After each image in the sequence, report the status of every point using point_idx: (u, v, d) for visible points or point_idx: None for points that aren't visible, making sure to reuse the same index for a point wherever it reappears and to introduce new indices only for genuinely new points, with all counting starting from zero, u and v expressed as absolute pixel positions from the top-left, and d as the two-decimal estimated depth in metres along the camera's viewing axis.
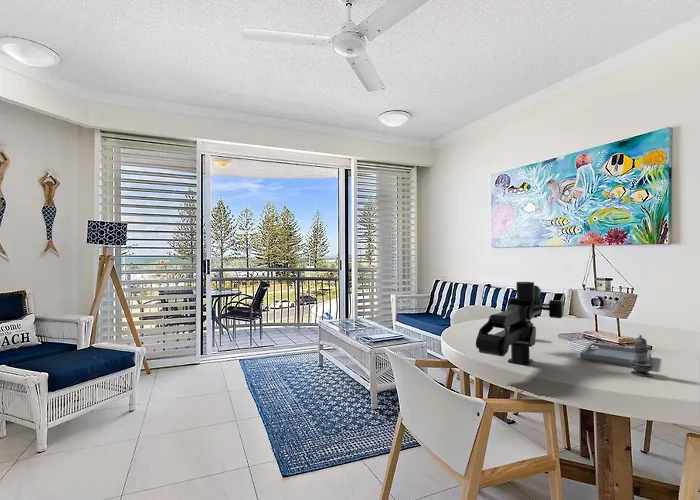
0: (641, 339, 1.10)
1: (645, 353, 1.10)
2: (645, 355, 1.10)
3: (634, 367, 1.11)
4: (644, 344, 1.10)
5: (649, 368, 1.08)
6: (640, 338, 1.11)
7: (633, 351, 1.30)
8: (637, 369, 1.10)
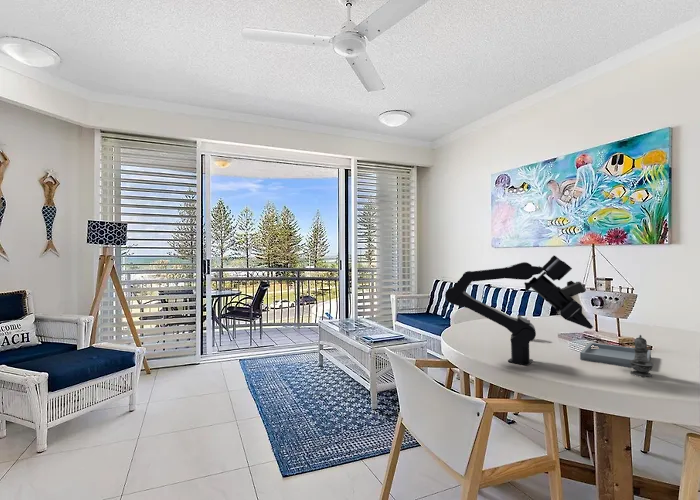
0: (641, 339, 1.10)
1: (645, 353, 1.10)
2: (645, 355, 1.10)
3: (634, 367, 1.11)
4: (644, 344, 1.10)
5: (649, 368, 1.08)
6: (640, 338, 1.11)
7: (633, 351, 1.30)
8: (637, 369, 1.10)
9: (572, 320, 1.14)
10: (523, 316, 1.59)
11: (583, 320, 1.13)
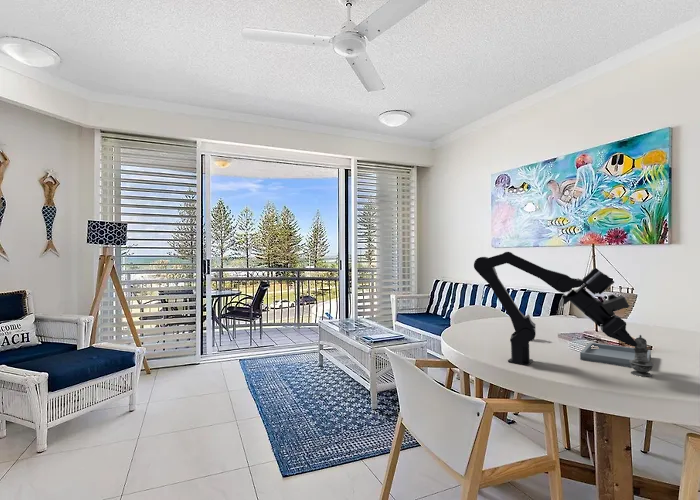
0: (641, 339, 1.10)
1: (645, 353, 1.10)
2: (645, 355, 1.10)
3: (634, 367, 1.11)
4: (644, 344, 1.10)
5: (649, 368, 1.08)
6: (640, 338, 1.11)
7: (633, 351, 1.30)
8: (637, 369, 1.10)
9: (615, 337, 1.09)
10: None
11: (627, 337, 1.08)
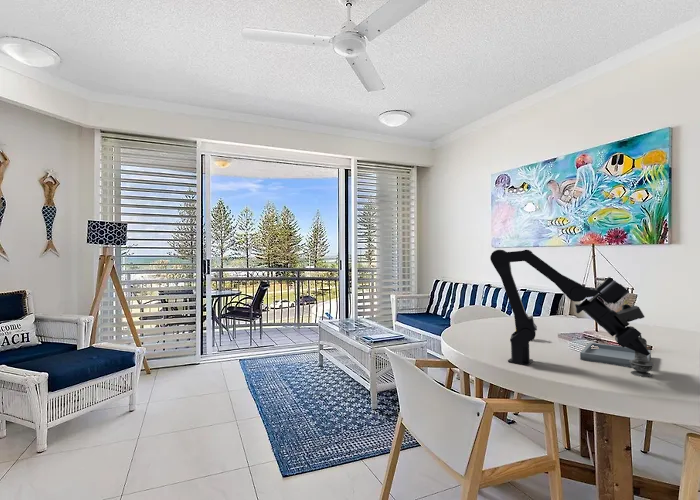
0: (641, 339, 1.10)
1: None
2: (645, 355, 1.10)
3: (634, 367, 1.11)
4: (644, 344, 1.10)
5: (649, 368, 1.08)
6: (640, 338, 1.11)
7: (633, 351, 1.30)
8: (637, 369, 1.10)
9: (627, 346, 1.09)
10: None
11: (640, 346, 1.09)
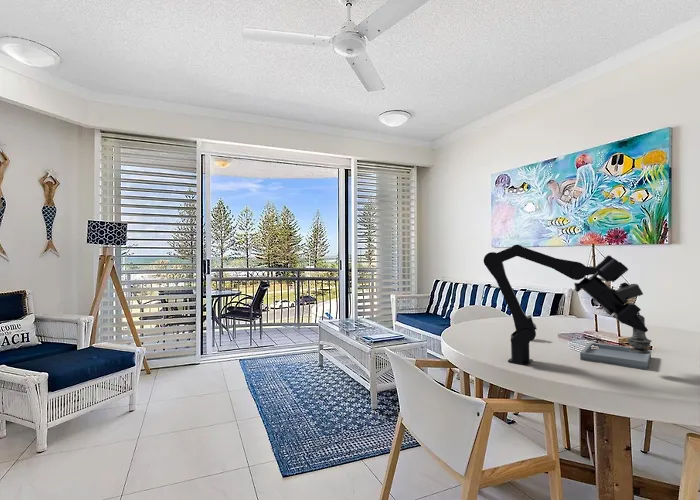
0: (639, 316, 1.11)
1: None
2: (643, 332, 1.11)
3: (632, 344, 1.12)
4: (642, 321, 1.11)
5: (647, 344, 1.10)
6: (638, 315, 1.12)
7: None
8: (635, 346, 1.11)
9: (626, 322, 1.10)
10: None
11: (638, 323, 1.10)
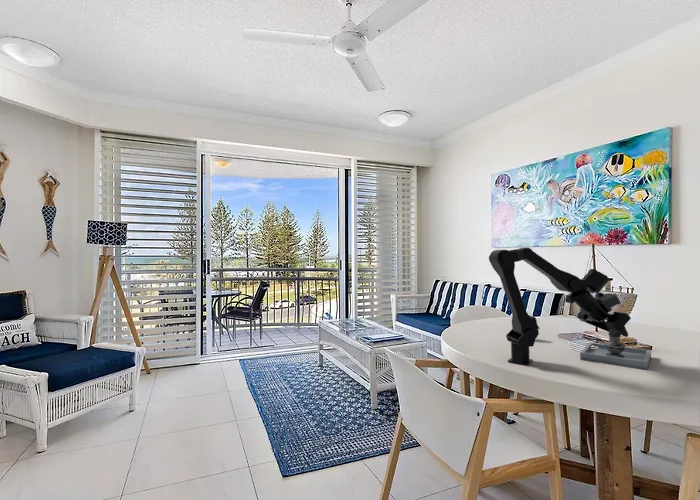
0: None
1: (619, 336, 1.26)
2: (619, 338, 1.26)
3: (612, 350, 1.26)
4: None
5: (623, 349, 1.26)
6: None
7: (633, 351, 1.30)
8: (615, 351, 1.26)
9: (616, 330, 1.22)
10: None
11: (623, 329, 1.23)
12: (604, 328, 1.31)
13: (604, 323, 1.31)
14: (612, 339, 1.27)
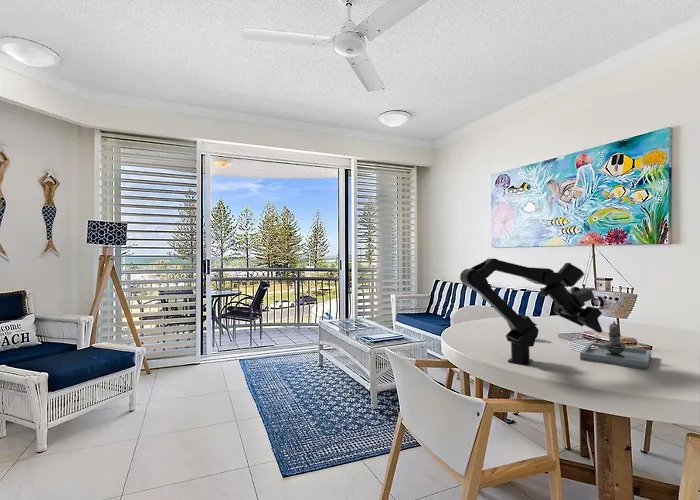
0: (616, 325, 1.27)
1: (619, 336, 1.26)
2: (619, 338, 1.26)
3: (612, 350, 1.26)
4: None
5: (623, 349, 1.26)
6: (615, 324, 1.27)
7: (633, 351, 1.30)
8: (615, 351, 1.26)
9: (589, 325, 1.21)
10: None
11: (597, 325, 1.22)
12: (576, 322, 1.32)
13: (577, 317, 1.32)
14: (612, 339, 1.27)
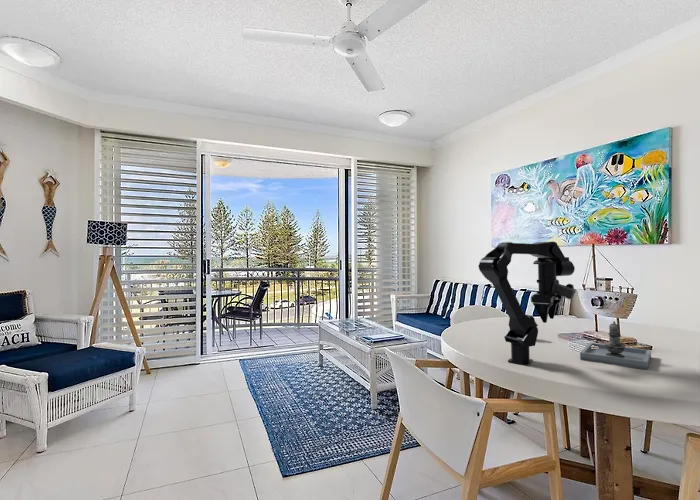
0: (616, 325, 1.27)
1: (619, 336, 1.26)
2: (619, 338, 1.26)
3: (612, 350, 1.26)
4: (619, 329, 1.26)
5: (623, 349, 1.26)
6: (615, 324, 1.27)
7: (633, 351, 1.30)
8: (615, 351, 1.26)
9: (536, 306, 1.27)
10: None
11: (544, 313, 1.26)
12: (548, 311, 1.35)
13: (553, 308, 1.34)
14: (612, 339, 1.27)
